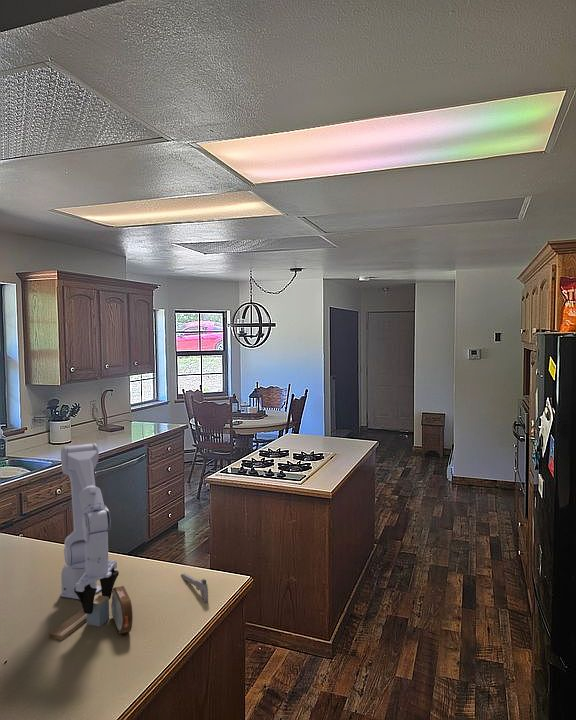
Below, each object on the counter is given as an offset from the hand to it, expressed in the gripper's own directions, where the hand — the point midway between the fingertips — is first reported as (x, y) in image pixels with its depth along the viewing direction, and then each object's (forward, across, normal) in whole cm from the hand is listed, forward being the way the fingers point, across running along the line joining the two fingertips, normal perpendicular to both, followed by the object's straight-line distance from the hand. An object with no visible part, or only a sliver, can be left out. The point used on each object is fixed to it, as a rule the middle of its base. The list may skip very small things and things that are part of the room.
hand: (97, 605), depth 139 cm
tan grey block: (+4, 0, 0) cm, 4 cm away
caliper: (+5, +24, -16) cm, 29 cm away
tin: (+4, 0, -7) cm, 8 cm away
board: (+4, -3, +5) cm, 7 cm away
